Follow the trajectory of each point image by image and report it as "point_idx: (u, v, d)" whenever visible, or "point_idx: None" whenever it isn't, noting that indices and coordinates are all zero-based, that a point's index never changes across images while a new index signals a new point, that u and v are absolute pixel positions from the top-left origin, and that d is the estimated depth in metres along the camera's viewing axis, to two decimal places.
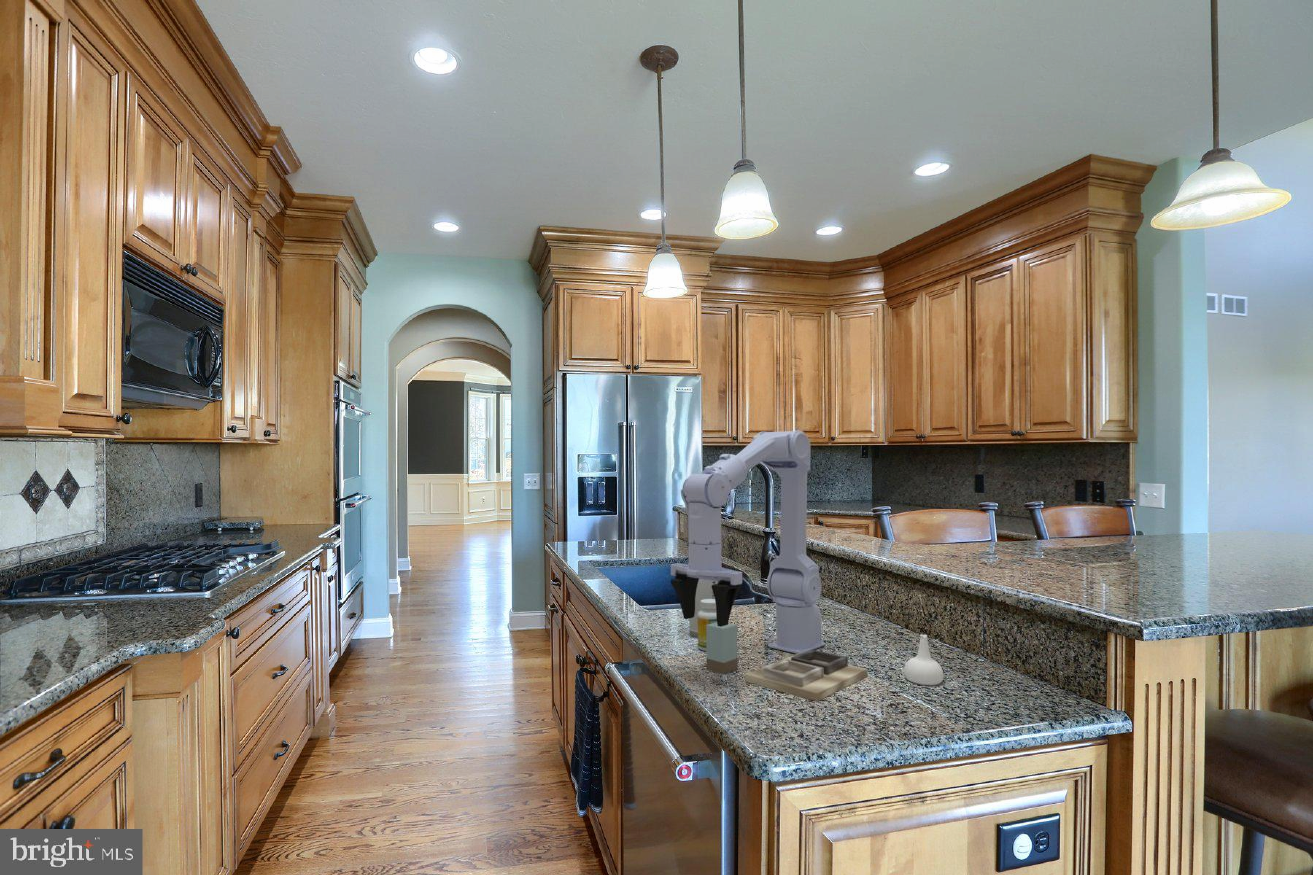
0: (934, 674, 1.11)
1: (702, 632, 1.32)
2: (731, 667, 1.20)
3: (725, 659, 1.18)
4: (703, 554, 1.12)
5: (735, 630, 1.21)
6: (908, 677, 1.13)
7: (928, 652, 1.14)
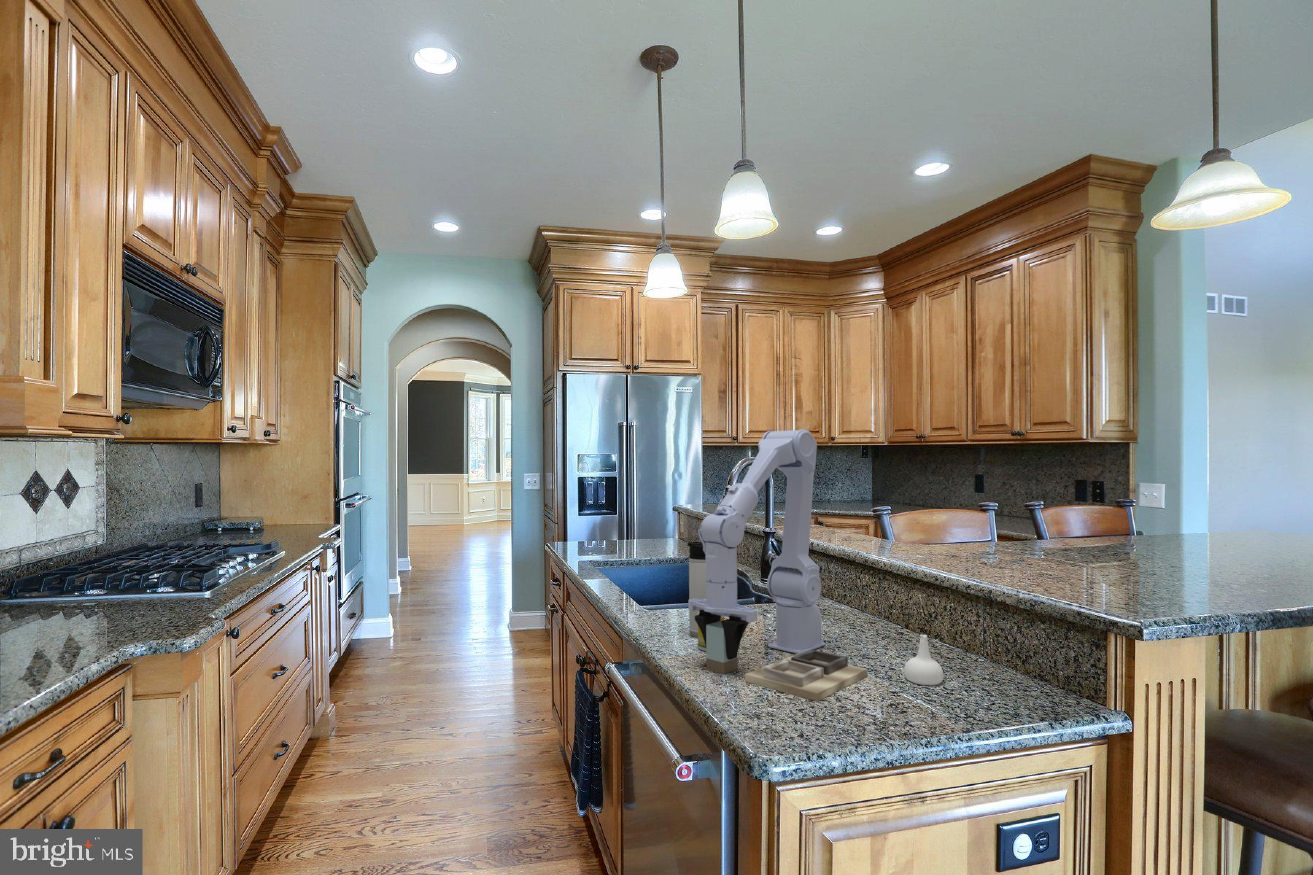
0: (933, 674, 1.11)
1: None
2: (731, 667, 1.20)
3: (725, 659, 1.18)
4: (720, 592, 1.18)
5: None
6: (908, 677, 1.13)
7: (928, 652, 1.14)
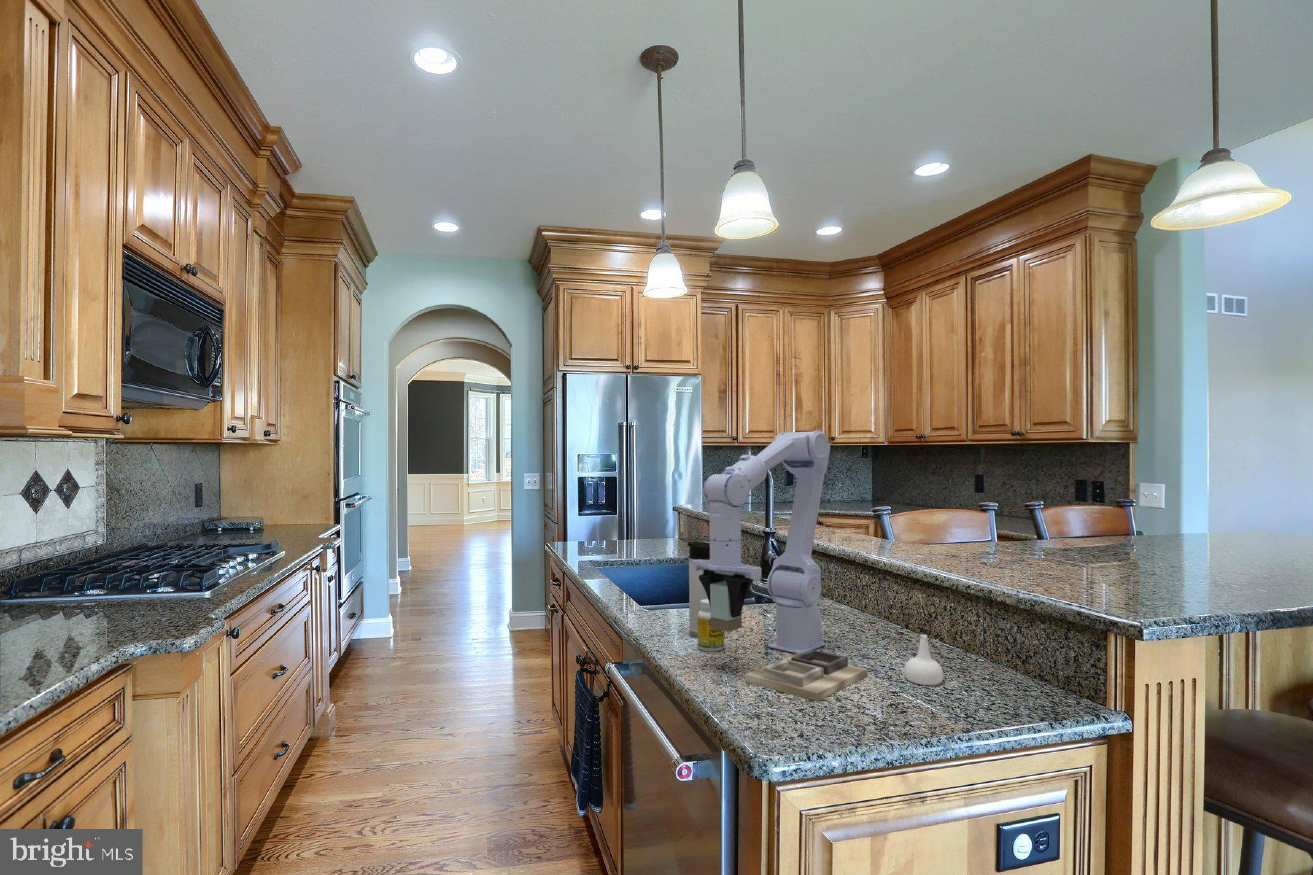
0: (934, 674, 1.11)
1: (702, 632, 1.32)
2: (735, 625, 1.20)
3: (729, 617, 1.19)
4: (724, 551, 1.19)
5: None
6: (908, 677, 1.13)
7: (928, 652, 1.13)
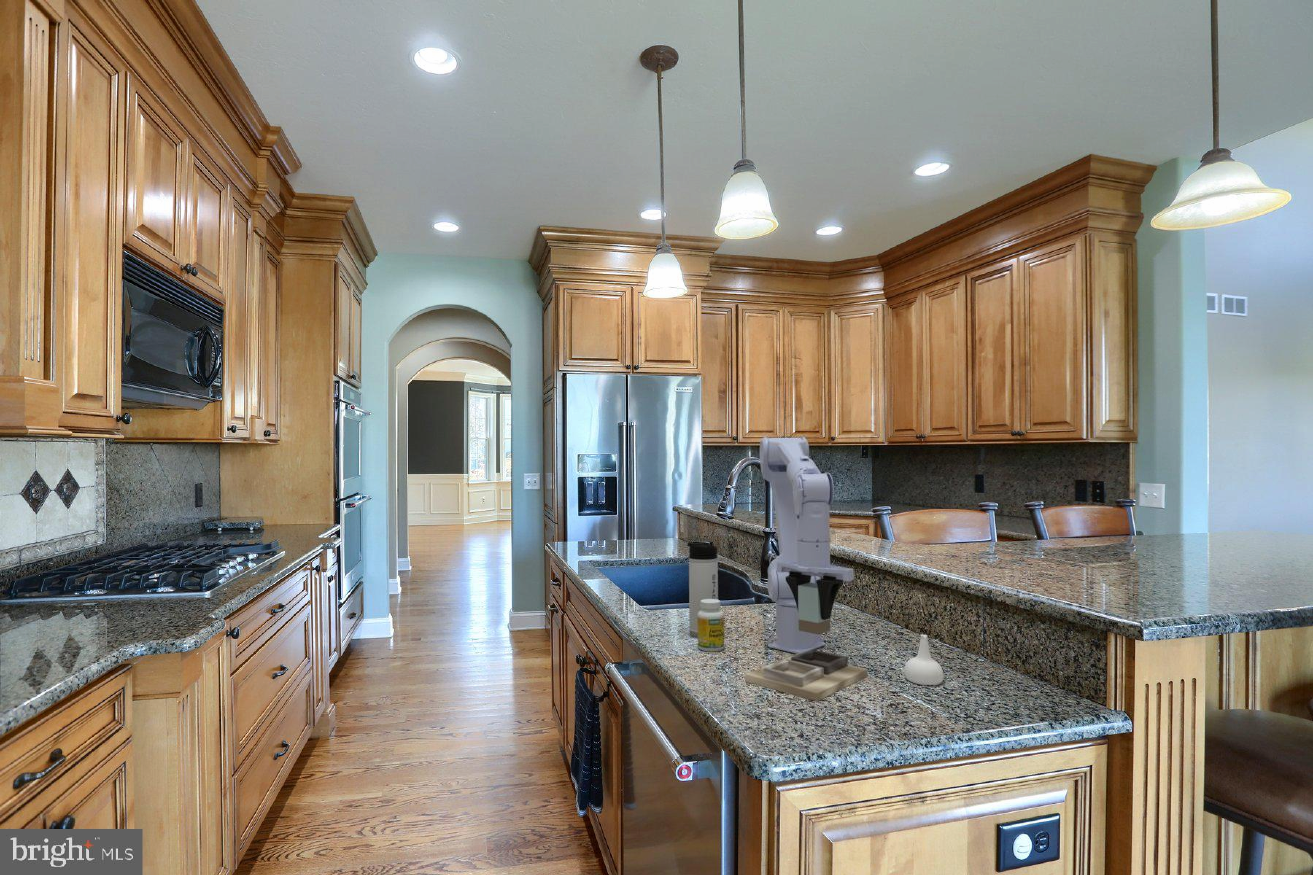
0: (934, 674, 1.11)
1: (702, 632, 1.32)
2: (824, 628, 1.17)
3: (819, 619, 1.16)
4: (814, 552, 1.16)
5: None
6: (908, 677, 1.13)
7: (928, 652, 1.13)
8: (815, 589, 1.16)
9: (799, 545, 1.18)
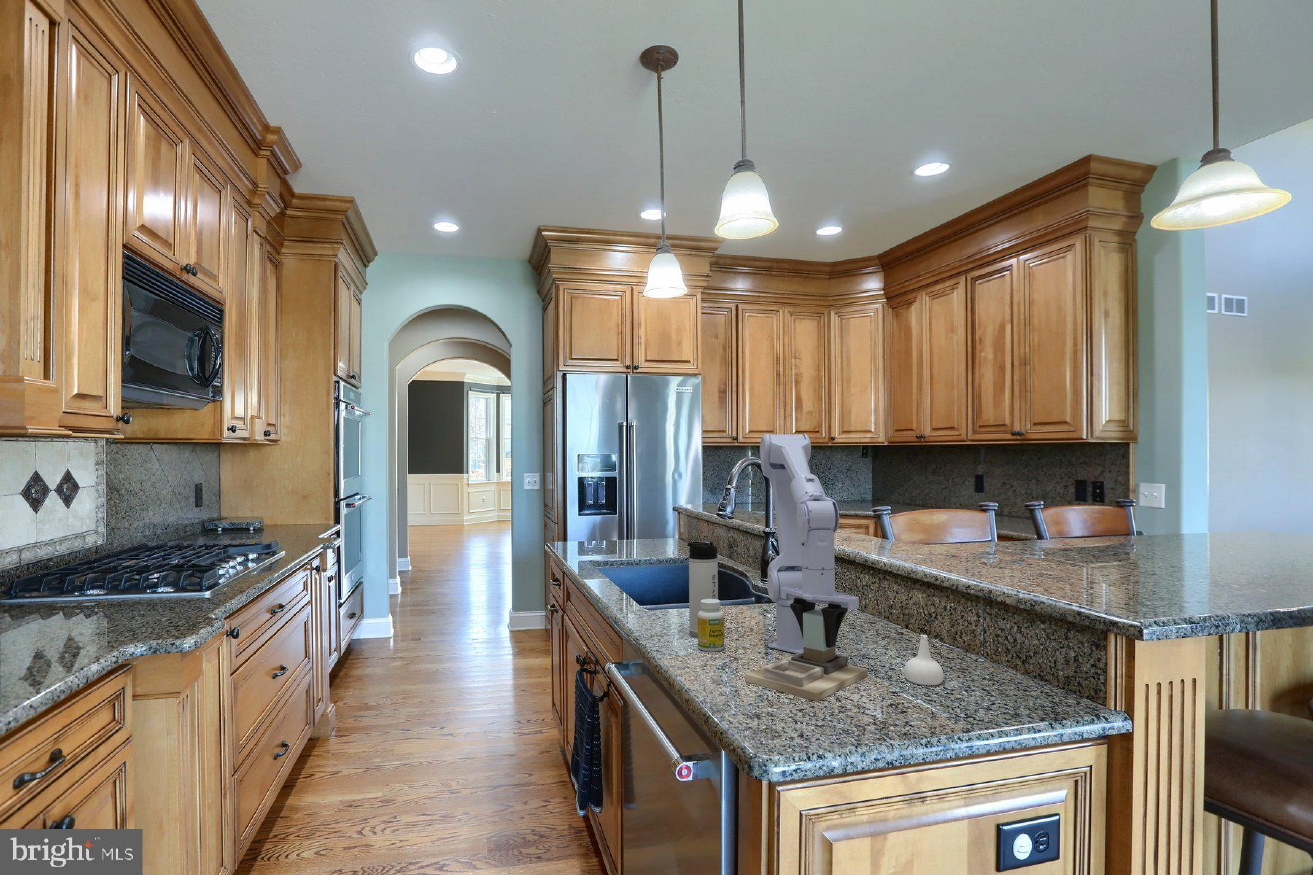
0: (933, 674, 1.11)
1: (702, 632, 1.32)
2: (829, 656, 1.17)
3: (824, 647, 1.16)
4: (819, 579, 1.16)
5: None
6: (908, 677, 1.13)
7: (928, 652, 1.13)
8: (820, 617, 1.16)
9: (804, 572, 1.18)
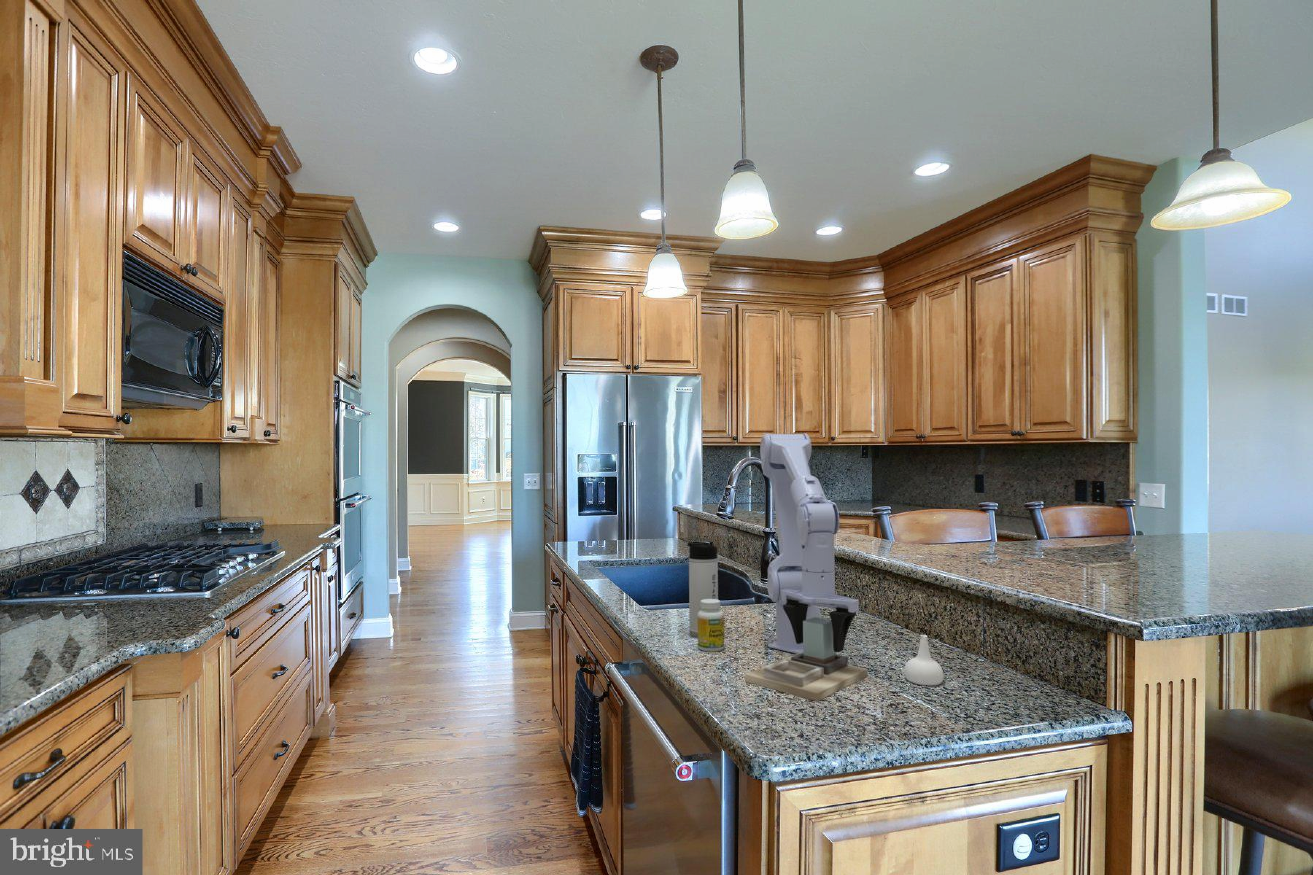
0: (933, 674, 1.11)
1: (702, 632, 1.32)
2: None
3: (824, 655, 1.16)
4: (819, 582, 1.16)
5: None
6: (908, 677, 1.13)
7: (928, 652, 1.13)
8: (820, 625, 1.16)
9: (804, 575, 1.18)
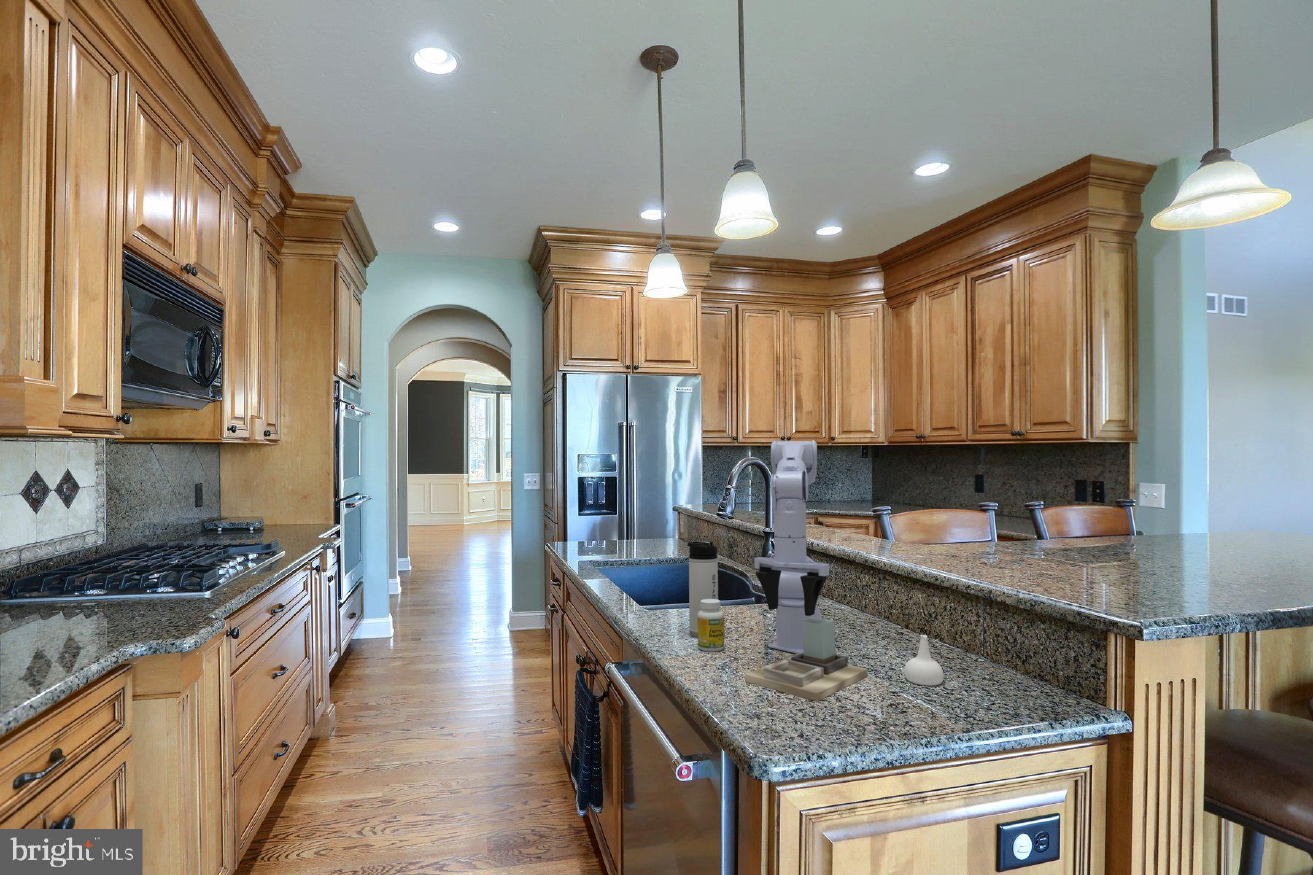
0: (934, 674, 1.11)
1: (702, 632, 1.32)
2: None
3: (824, 655, 1.16)
4: (791, 547, 1.18)
5: (833, 626, 1.18)
6: (908, 677, 1.13)
7: (928, 652, 1.13)
8: (820, 625, 1.16)
9: (776, 541, 1.20)
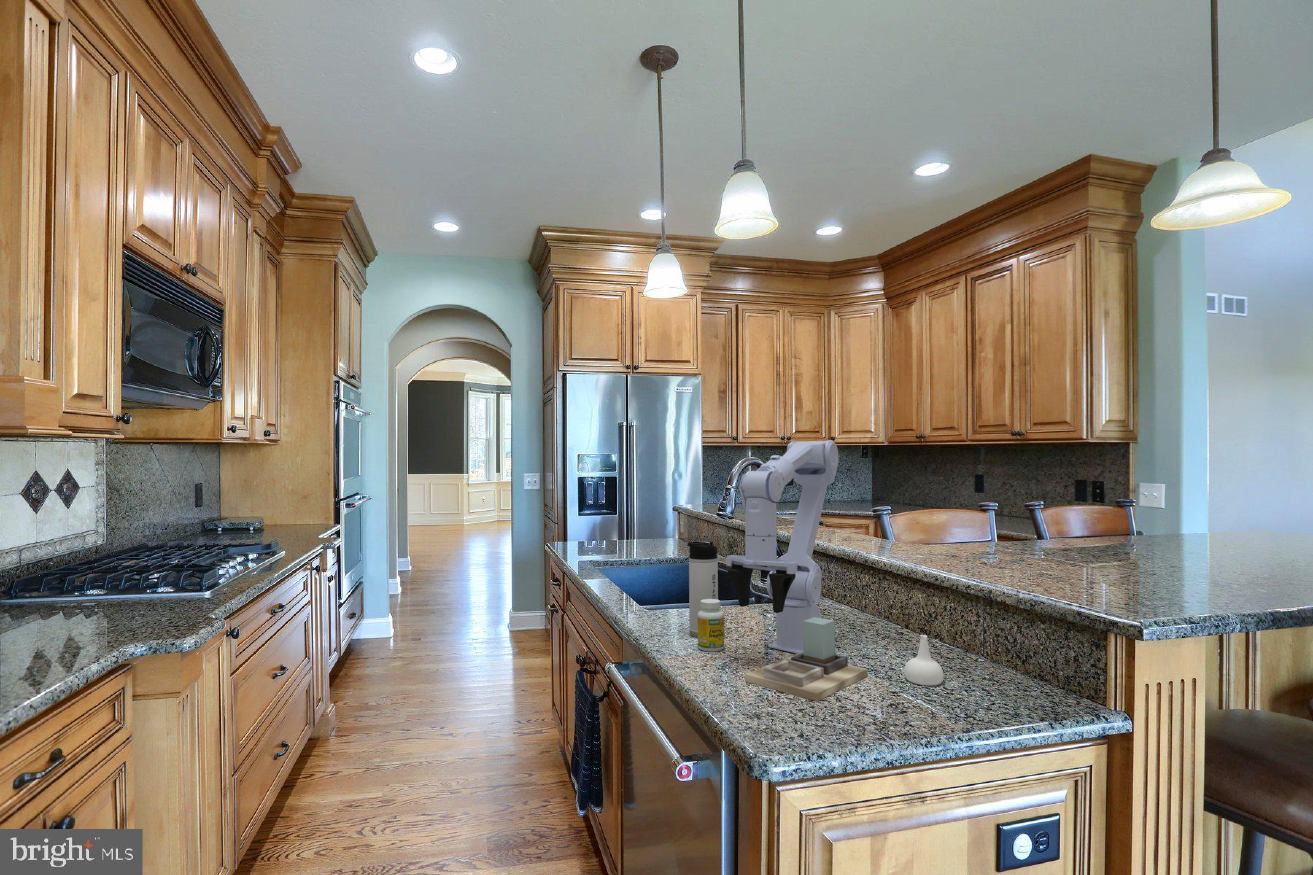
0: (934, 674, 1.11)
1: (702, 632, 1.32)
2: None
3: (824, 655, 1.16)
4: (761, 545, 1.21)
5: (833, 626, 1.18)
6: (908, 677, 1.13)
7: (928, 652, 1.13)
8: (820, 625, 1.16)
9: (747, 539, 1.23)
